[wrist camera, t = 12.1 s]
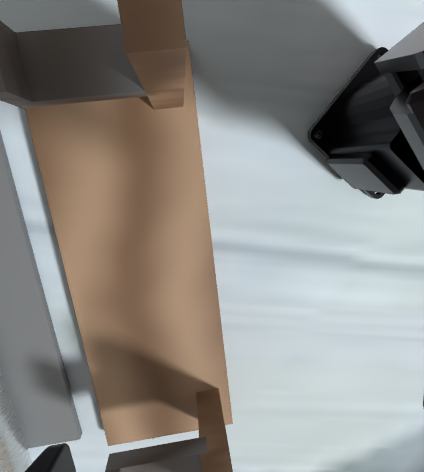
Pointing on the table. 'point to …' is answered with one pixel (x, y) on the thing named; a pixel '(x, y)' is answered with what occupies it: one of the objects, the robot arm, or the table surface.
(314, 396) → the table surface
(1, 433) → the steel rail
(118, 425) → the hook stand
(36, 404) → the rubber mat
